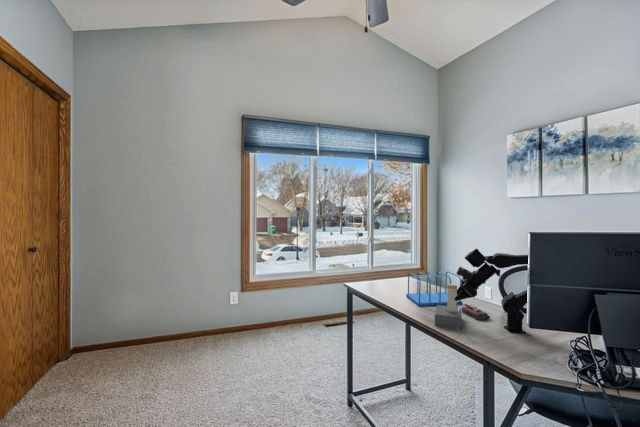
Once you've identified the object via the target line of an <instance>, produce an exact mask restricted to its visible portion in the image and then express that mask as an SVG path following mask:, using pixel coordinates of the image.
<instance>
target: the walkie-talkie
mask: <svg viewBox="0 0 640 427" xmlns="http://www.w3.org/2000/svg"><path fill="white" fill-rule="evenodd" d="M461 314H464V315H466V316H469V317H470V318H471V319H473V320H476V321H483V320H489V319H491V316H490V315H488V313H487V312H485V311H483V310H482V309H481V308H479V307H477V306H475V305H474V304H467V303H464V306H462V307H461Z"/></svg>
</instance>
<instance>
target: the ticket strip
mask: <svg viewBox="0 0 640 427" xmlns="http://www.w3.org/2000/svg"><path fill="white" fill-rule="evenodd" d="M457 289H458V285H457V284H453V283H451V284H450V283H447V285H446V293H447V305H446V306H447V312H456V313H457V307H458V305H457V301H455V300H454V299H455V297H456V296H457Z"/></svg>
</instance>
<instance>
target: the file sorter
mask: <svg viewBox="0 0 640 427" xmlns="http://www.w3.org/2000/svg"><path fill="white" fill-rule="evenodd" d="M438 273H439V274H440V275H443V276H445V280H444V282H445V283H444V284H445V287H444V291H445V292H442V280H441V277H440V276H439V275H438ZM448 273H449V274H451V275H453V276H456V277H458V278H459V286H460V285H461V279H462V277H461V276H459V275H457V274H455V273H453V272H451V271H448V270H447V271H446V272H445V273H443V272H440V271H437V272H436V273H433V272H431V271H428V272H427V273H422V272H420V271H418V273H417V275H416V274H415V273H413V272H408V275H407V293H406V295H405V297H406V298H408V299H409V300H410V301H412V302H413V303H414V304H415V305H416V306H418V307H427V306H437V305H441V306H447V285H448V282H447V279H449V284H452V280H451V277H450V276H449V275H448ZM420 274H421V275H423V276H425V277H426V292H421V287H422V286H421V284H422V283H421V278H420V277H419V275H420ZM429 274H431V275H433V276H435V292H431V290H432V289H431V285H432V284H431V282H432V281H431V277H430V276H429ZM410 275H412V276H415V277H416V278H417V279H416V280H417V282H416V285H417V287H416V290H417V291H416V292H415V293H414V292H413V293H410ZM438 280H439V292H438ZM458 305H463V301H462V300H458V301H457V306H458Z"/></svg>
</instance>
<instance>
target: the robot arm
mask: <svg viewBox="0 0 640 427" xmlns="http://www.w3.org/2000/svg"><path fill="white" fill-rule="evenodd" d="M528 255H529V254H509V253H503V252H502V253H501V252H497V253H494V254H493V255H486V256H485V255H484V254H483V253H482V252H480V250H479V249H478V248H475V249H473V250H472V251H470V252H468V253H467V254H466V255H465V256H464V259H465V261H467V262H468V263H469V264H470V265H471V267H472V268H477V269H476V270H473V271H470V270H468V269H466V268H465V267H464V268H463V267H462V266H459V268H458V269H457V271H456V275H458V276H460V277H461V285H460V284H459V287H457V296H456V297H455V299H454V300H455V301H458V300H461V301H462V300H465V299H469V298H470V299H471V298H475V297H477V295H478V291H477V290H478V289H479V287H481V286H482V285H485V284H486V282H487V281H488V280H489V279H491V277H493V276H494V275H497V277H501V269H506V268H510V267H513V266H518V265H519V266H521V265H529V264H528ZM500 303H501V304H500V305H501V307H502V310H503V311H504V313H506V325H503V328H504V329H505V330H507V331H508V333H511V334H513V333H514V334H526V333H527V331H525V330H524V328H523V320H524V318H525V314H524V313H523V310H522V309H523V308H524V306H526V304H527V303H528V302H527V289H525V290H523V291H521V292H519V293H516V294H515V293H514V292H513V291H511V292H509V294H507V295H504V296H503V298H502V299H501V302H500Z"/></svg>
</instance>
